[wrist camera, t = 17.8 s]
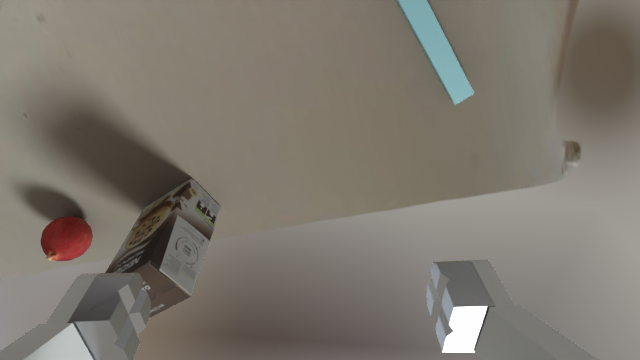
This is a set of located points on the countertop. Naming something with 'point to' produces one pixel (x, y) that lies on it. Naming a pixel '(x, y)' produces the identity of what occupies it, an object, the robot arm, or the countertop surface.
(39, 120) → the countertop surface
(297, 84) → the countertop surface
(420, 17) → the teal bar
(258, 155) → the countertop surface
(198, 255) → the coffee box
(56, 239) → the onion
